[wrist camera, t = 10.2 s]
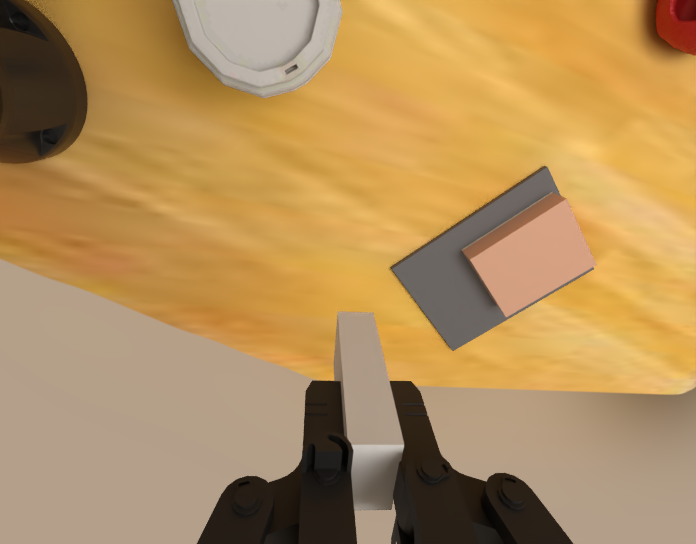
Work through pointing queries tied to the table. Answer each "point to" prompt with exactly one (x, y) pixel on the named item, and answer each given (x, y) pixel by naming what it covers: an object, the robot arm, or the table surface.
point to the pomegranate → (677, 23)
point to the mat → (467, 267)
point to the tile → (530, 254)
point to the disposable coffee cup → (261, 40)
